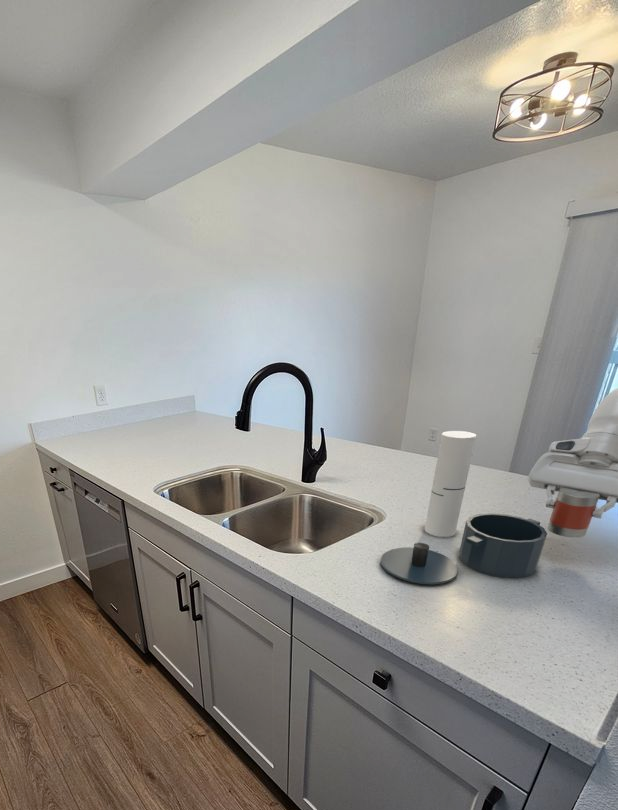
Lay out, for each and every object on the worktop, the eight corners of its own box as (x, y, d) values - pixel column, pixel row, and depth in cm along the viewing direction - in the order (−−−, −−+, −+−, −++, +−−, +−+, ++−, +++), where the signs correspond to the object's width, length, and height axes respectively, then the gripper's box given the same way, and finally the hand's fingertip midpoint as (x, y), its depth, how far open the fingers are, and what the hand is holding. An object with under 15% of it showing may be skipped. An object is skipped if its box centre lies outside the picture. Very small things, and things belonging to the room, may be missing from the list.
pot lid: (473, 575, 93) (479, 552, 90) (418, 594, 88) (423, 570, 85) (416, 545, 106) (420, 525, 103) (365, 561, 101) (368, 539, 98)
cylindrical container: (453, 539, 108) (475, 439, 97) (422, 533, 111) (440, 436, 100) (456, 528, 113) (477, 432, 102) (426, 523, 117) (443, 429, 105)
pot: (559, 564, 95) (571, 529, 91) (495, 588, 88) (505, 551, 84) (496, 538, 107) (504, 506, 103) (436, 557, 100) (442, 524, 96)
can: (592, 533, 93) (607, 493, 89) (573, 540, 91) (587, 500, 86) (559, 522, 98) (571, 484, 94) (540, 528, 96) (552, 490, 92)
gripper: (662, 473, 88) (635, 531, 87) (544, 456, 102) (518, 506, 101) (668, 456, 84) (639, 518, 83) (543, 441, 98) (516, 493, 97)
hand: (571, 511), depth 92 cm, fingers closed on can, 7 cm apart
